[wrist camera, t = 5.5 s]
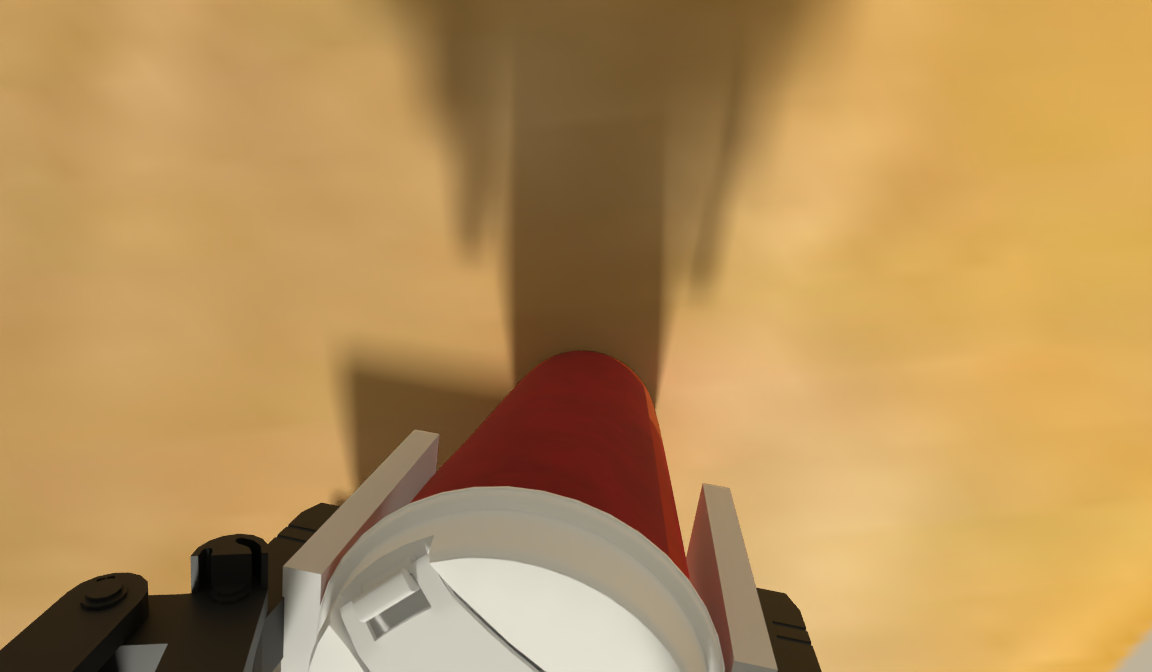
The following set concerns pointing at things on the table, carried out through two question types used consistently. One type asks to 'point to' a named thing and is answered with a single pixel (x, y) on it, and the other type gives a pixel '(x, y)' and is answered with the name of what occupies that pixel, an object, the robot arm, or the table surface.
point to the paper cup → (530, 547)
